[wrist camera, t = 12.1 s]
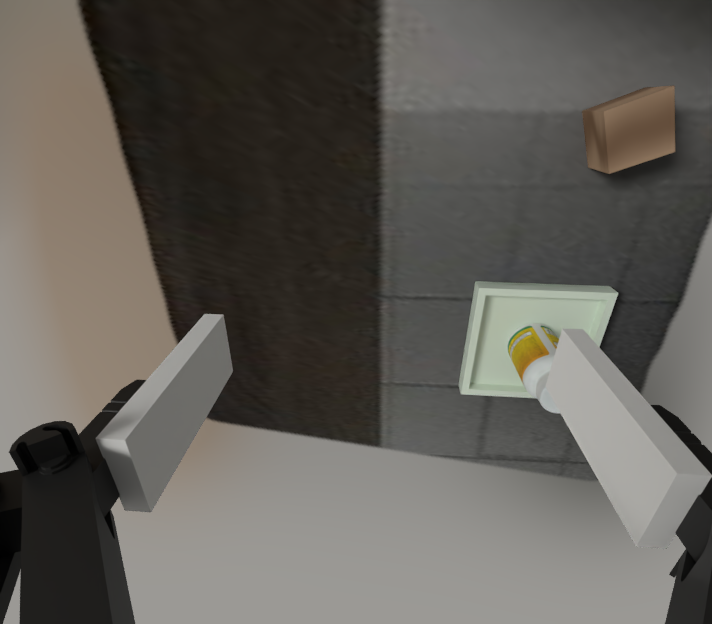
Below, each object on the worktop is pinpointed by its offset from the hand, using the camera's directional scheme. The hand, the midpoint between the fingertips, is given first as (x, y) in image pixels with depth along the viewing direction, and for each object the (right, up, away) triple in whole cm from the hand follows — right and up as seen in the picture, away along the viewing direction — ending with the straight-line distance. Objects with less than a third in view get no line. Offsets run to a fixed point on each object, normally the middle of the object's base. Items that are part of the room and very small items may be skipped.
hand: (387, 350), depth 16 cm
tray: (+19, -2, +30) cm, 35 cm away
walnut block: (+22, +18, +19) cm, 34 cm away
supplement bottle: (+19, -2, +29) cm, 35 cm away
